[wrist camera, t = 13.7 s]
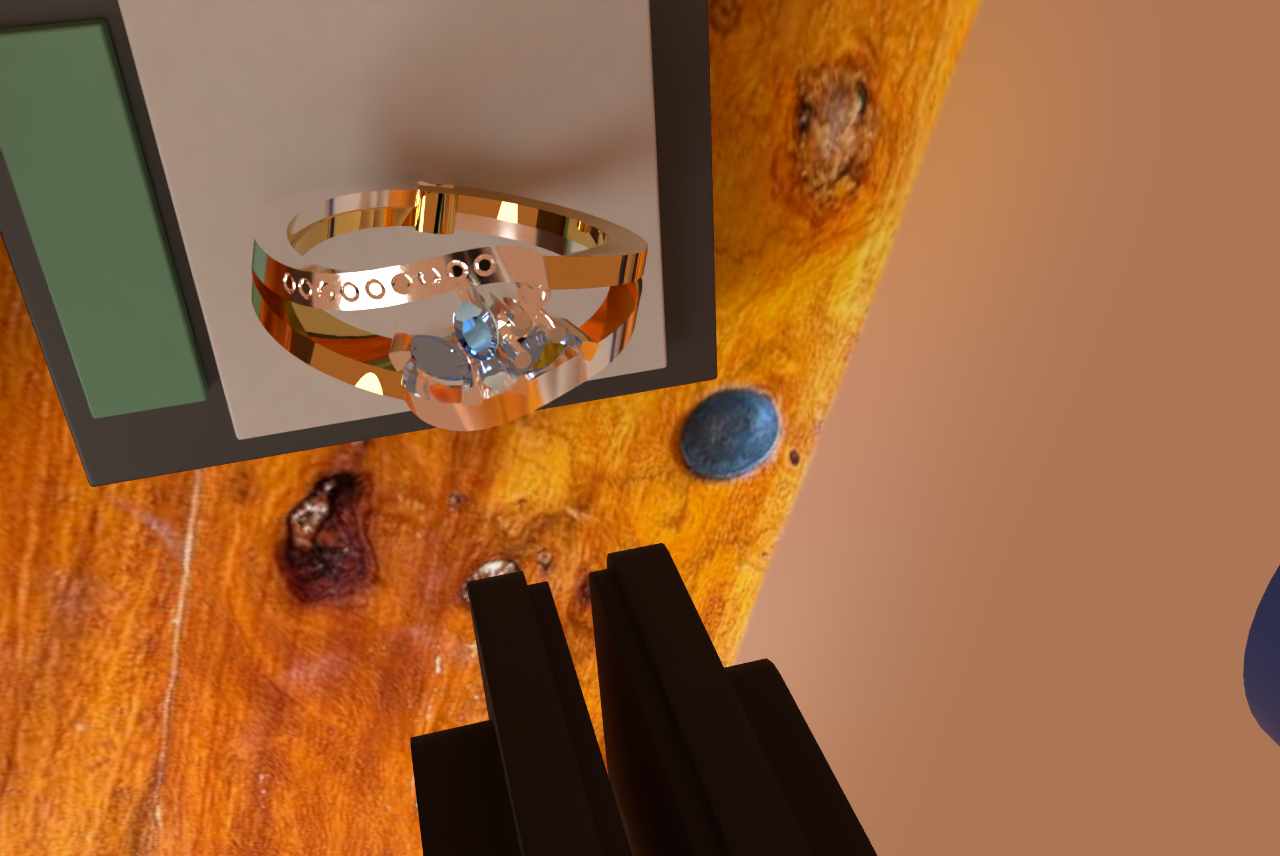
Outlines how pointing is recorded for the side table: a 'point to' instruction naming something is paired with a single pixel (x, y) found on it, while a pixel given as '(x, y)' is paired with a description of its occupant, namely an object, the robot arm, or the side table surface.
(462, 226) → the ring
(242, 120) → the scale
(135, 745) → the side table surface
